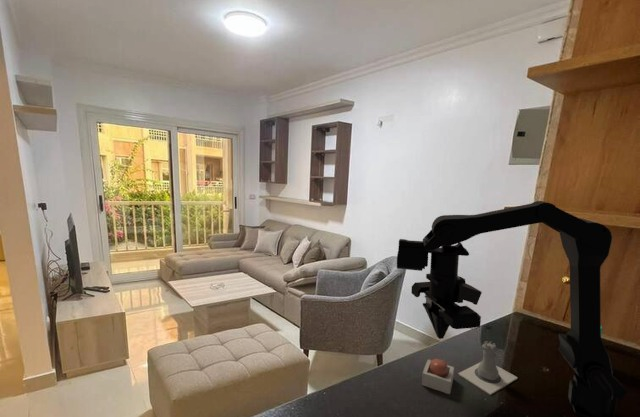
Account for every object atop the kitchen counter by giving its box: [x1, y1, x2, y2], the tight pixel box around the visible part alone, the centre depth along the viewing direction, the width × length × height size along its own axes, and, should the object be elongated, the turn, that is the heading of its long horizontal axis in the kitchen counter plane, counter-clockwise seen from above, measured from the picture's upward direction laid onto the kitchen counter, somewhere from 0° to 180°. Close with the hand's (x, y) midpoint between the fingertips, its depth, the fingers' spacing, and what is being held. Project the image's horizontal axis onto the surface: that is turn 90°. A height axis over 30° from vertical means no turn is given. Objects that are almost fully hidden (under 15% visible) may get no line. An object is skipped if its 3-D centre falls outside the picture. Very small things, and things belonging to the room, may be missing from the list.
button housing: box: [421, 358, 455, 395], centre depth 72 cm, size 6×6×3 cm
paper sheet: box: [457, 361, 518, 396], centre depth 74 cm, size 11×8×1 cm
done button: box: [430, 358, 448, 378], centre depth 72 cm, size 4×4×2 cm
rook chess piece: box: [478, 340, 499, 380], centre depth 73 cm, size 4×4×8 cm
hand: (440, 337), depth 71 cm, fingers closed
